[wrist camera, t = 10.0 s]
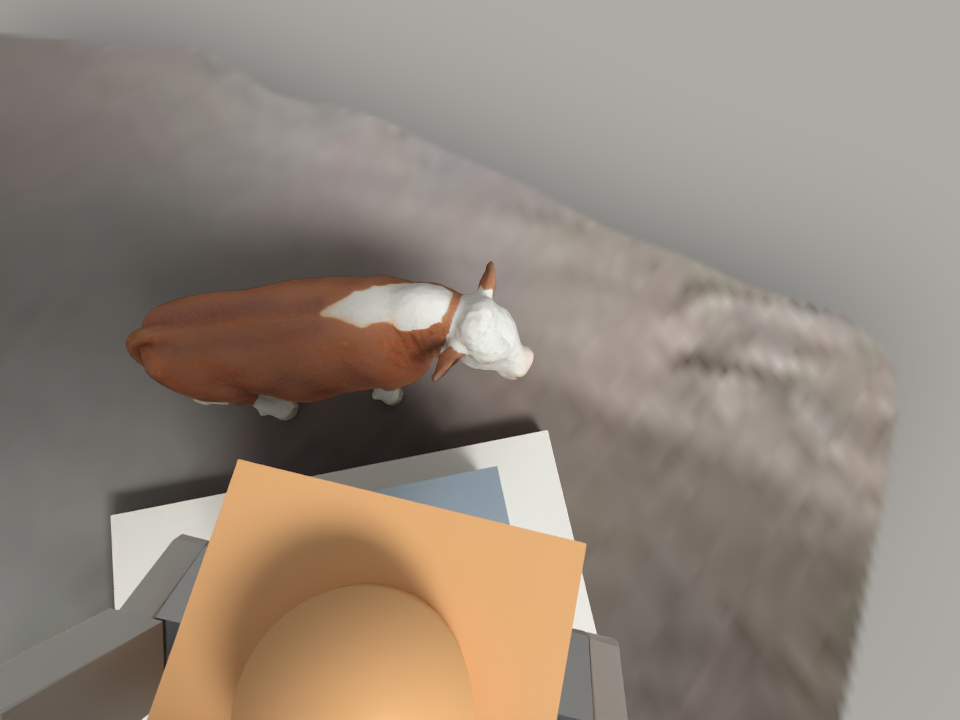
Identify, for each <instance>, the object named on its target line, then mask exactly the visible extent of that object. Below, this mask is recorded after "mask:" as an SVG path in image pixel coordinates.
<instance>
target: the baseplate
mask: <svg viewBox="0 0 960 720" xmlns="http://www.w3.org/2000/svg"><path fill="white" fill-rule="evenodd" d="M494 466H497V467H498V472H499V476H500V481H501V486H502V490H503V495H504V500H505V504H506V509H507V514H508V518H509V523H510V525H512V526H516V527H520V528H524V529H529V530H533V531H537V532H541V533H545V534H549V535H553V536H557V537H562V538H566V539H570V540H574V538H573V534H572V530H571V526H570V521H569V517H568V513H567V509H566V505H565V501H564V497H563V492H562V488H561V484H560V480H559V476H558V472H557V468H556V463H555V459H554V455H553V451H552V447H551V443H550V439H549V434H548V430H545V431H540V432H535V433H530V434H525V435H520V436H515V437H510V438H504V439H499V440H494V441H489V442H484V443H479V444H474V445H469V446H464V447H458V448H453V449H448V450H443V451H438V452H433V453H428V454H423V455H418V456H412V457H407V458H402V459H397V460H392V461H387V462H382V463H377V464H372V465H366V466H361V467H356V468H351V469H346V470H341V471H336V472H331V473H326V474H320V475H315V476H310V477H314V478H318V479H322V480H326V481H331V482H335V483H339V484H343V485H347V486H351V487H355V488H359V489H364V490H368V491H375V490H380V489H385V488H390V487H395V486H400V485H405V484H410V483H415V482H420V481H425V480H430V479H435V478H440V477H445V476H450V475H455V474H459V473H464V472H469V471H474V470H479V469H484V468H489V467H494ZM225 495H226V493H223V494H218V495H213V496H208V497H203V498H198V499H193V500H188V501H182V502H177V503H172V504H167V505H162V506H157V507H152V508H147V509H142V510H136V511H131V512H126V513H121V514H116V515H111V534H112V556H113V577H114V599H115V609H116V610H119V609H120V608H121V607H122V605H123V604H124V603H125V602H126V600H127V599H128V598H129V596H130V595H131V594H132V592H133V591H134V590H135V589H136V587H137V586H138V585H139V583H140V582H141V581H142V580H143V578H144V577H145V576H146V574H147V573H148V572H149V570H150V569H151V568H152V567H153V565H154V564H155V563H156V561H157V560H158V559H159V558H160V556H161V555H162V554H163V552H164V551H165V550H166V548H167V547H168V546H169V545H170V543H171V542H172V541H173V540H174V539H175V538H177V537H178V536H180V535H181V534H185V535H189V536H193V537H197V538H201V539H204V540H208V541H210V538H211V535H212V532H213V530H214V527H215V524H216V521H217V518H218V515H219V513H220V510H221V507H222V504H223V501H224V498H225ZM572 628H574V629H578V630H582V631H585V632H589V633H593V634H597V633H596V629H595V625H594V621H593V617H592V613H591V608H590V604H589V600H588V596H587V592H586V588H585V584H584V579H583V575H582V574H581V580H580V586H579V591H578V597H577V603H576V609H575V615H574V621H573V627H572ZM148 715H149V714H148ZM148 715H147V716H146V717H144V718H143V719H142V720H147V718H148Z"/></svg>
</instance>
